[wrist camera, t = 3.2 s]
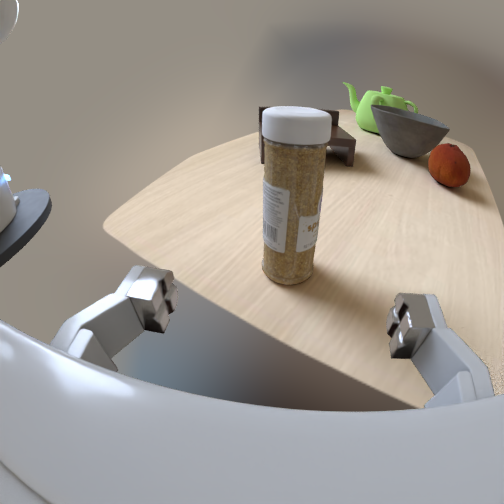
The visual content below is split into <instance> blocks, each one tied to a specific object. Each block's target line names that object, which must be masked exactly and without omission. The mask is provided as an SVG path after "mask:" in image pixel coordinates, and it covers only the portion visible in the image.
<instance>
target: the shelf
mask: <svg viewBox="0 0 504 504" xmlns="http://www.w3.org/2000/svg"><path fill="white" fill-rule="evenodd" d="M267 108H270V107H259V149H260V157H261V163H265V150H264V147H265V143H264V141H263V139H264V136H263V135H262V113H263V111H264V110H265V109H267ZM318 110H322V109H318ZM322 111H325V112H327V113H329V114H330V115H331V117H332V123H331V137H330V140H329V141H328V142H327V143H328V146H330V148H331V149H332V150H333V151H334V152H335V153H336V154H337V156H338V157H339V158H340V159H341V160H342V161H343V163H344V164H345V165H346V166H353V160H354V153H355V145H356V139H354V138H353V137H352V136H351V135H349V134H348V133H347V132H346V131H344V130H343V129H342V128H340V127H339V126H338V120H339V111H333V110H322Z"/></svg>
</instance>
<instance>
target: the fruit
mask: <svg viewBox="0 0 504 504" xmlns="http://www.w3.org/2000/svg"><path fill="white" fill-rule="evenodd" d="M428 166H429V171H430V174H431V175H432V177H433V178H434V179H435V180H436V181H438V182H440V183H441V184H443V185H446V186H450V187H460V186H462V185H464V184H465V183H466V182H467V181H468V179H469V176H470V164H469V161H468V159H467V157H466V156H465V155H464V153H463V152H462V151H461V150H460V149H459V147H458V146H457V145H453V144H449V143H447V144H441V145H438V146H437V147H435V148H434V149H433V150H432V151H431V153H430V157H429V161H428Z"/></svg>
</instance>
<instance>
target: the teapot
mask: <svg viewBox="0 0 504 504" xmlns="http://www.w3.org/2000/svg"><path fill="white" fill-rule="evenodd" d="M343 83H344V82H343ZM344 84H345V85H346V86H347V87H348V89H349V93H350V104H351V107H352V109H353V111H354V112H355V113H356V121H357V123H358V125H359V127H360V128H362V129H365V130H367V131H372V132H375V133H379V131H378V128H377V125H376V122H375V119H374V116H373V113H372V110H371V105H384V106H390V107H395V108H399V109H403V110H406V111H408V109H407V105H406V104H409V105H411V106H412V107H414V113H417V114H418V108H417V106H416V105H415V104H414V103H412V102H410V101H405V100H404V98H402V97H398V96H395V95H391V92H392V89H391V88H388V87H383V86H381V90H382V92H377V91H367V92H366V93H365V95H364V97H363V98H362V100H361V102H359V101H358V100H357V97H356V91H355V88H354V87H353V86H352V85H350V84H348V83H344ZM379 134H380V133H379Z"/></svg>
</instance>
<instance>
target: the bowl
mask: <svg viewBox="0 0 504 504" xmlns="http://www.w3.org/2000/svg"><path fill="white" fill-rule="evenodd" d="M371 110H372V113H373V116H374V119H375V122H376V125H377V128H378V131H379V133H380V135H381V137H382V139H383V141H384V143H385V144H386V146H387V147H388V148H389V149H390V150H391V151H392V152H393V153H395V154H397V155H400V156H404V157H409V158H416V157H420V156H422V155H425V154H427V153H429V152H430V151H432V150H433V149H434V148H435V147H436V146H437V145H438V144H439V143H440V142H441V140H442V139H443V138H444V137H445V135H446V134H447V133H448V132H449V130H450V129H449V128H448V127H447V126H445V125H444V124H443V123H441V122H439V121H437V120H435V119H432V118H430V117H427V116H424V115H421V114H417V113H414V112H410V111H406V110H403V109H399V108H395V107H390V106H384V105H371Z"/></svg>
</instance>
